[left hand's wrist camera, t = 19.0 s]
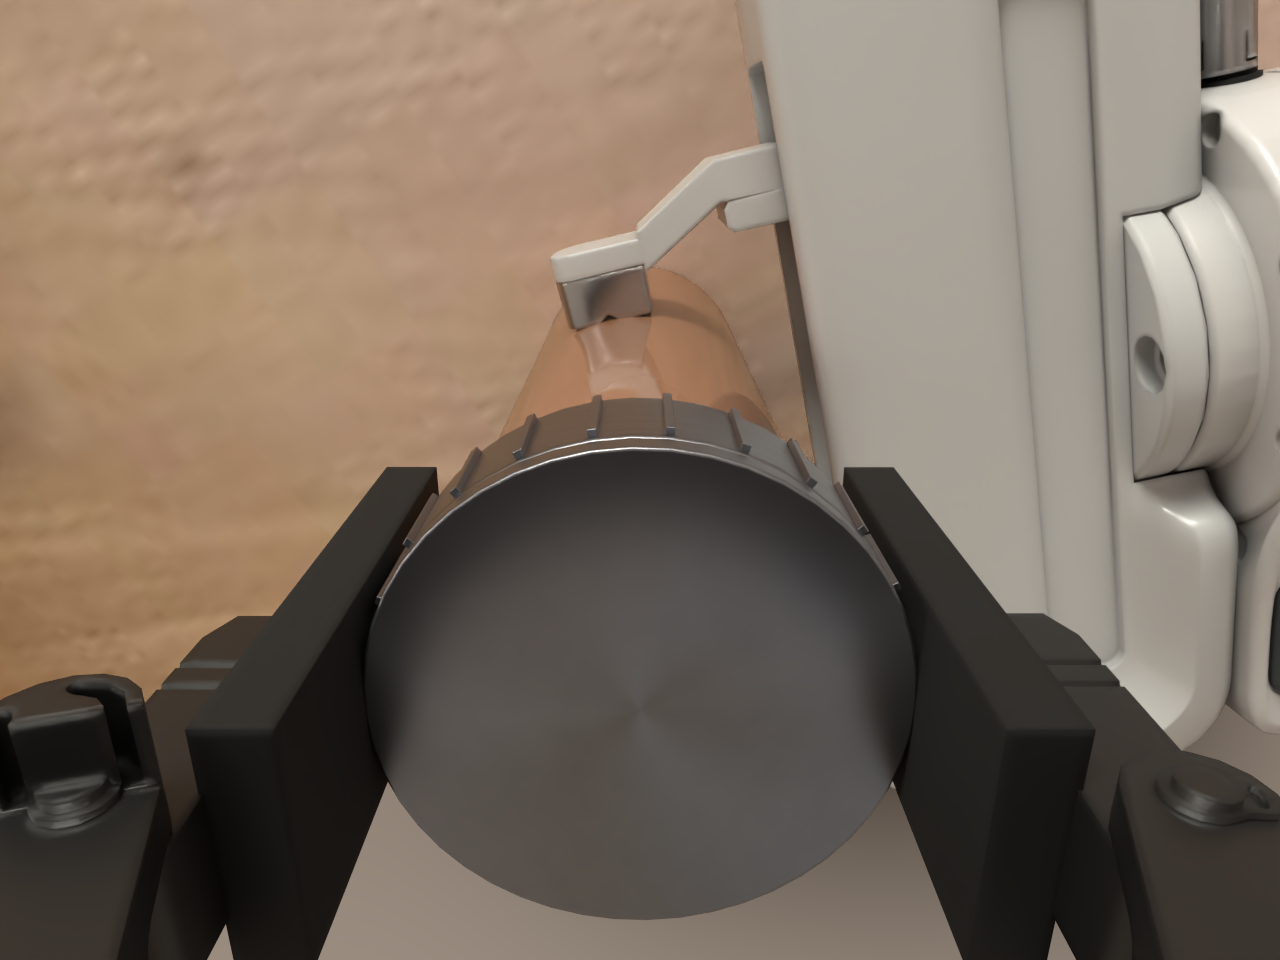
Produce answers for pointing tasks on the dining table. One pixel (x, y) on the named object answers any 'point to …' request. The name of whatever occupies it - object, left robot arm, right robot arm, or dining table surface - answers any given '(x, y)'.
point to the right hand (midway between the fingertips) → (600, 444)
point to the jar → (645, 359)
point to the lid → (640, 662)
